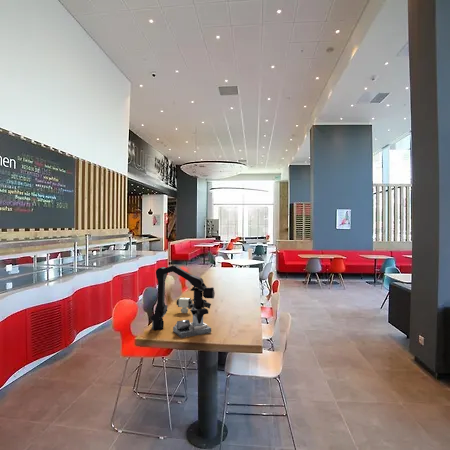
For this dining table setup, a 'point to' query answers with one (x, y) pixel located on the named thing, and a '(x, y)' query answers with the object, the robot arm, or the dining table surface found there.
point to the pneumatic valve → (184, 304)
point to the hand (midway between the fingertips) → (197, 322)
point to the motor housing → (190, 329)
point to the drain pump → (196, 321)
